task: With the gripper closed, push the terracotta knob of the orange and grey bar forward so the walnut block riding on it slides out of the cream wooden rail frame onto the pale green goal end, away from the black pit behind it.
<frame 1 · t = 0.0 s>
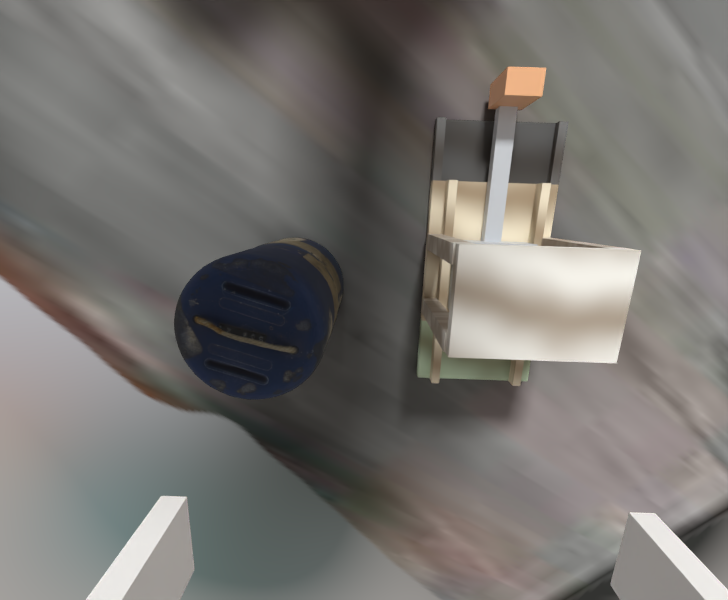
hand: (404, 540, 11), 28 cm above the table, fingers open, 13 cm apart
canister: (300, 281, 38), on the table
cream wooden rail frame: (481, 273, 37), on the table
orange and grey bar: (500, 204, 32), point 3 cm above the table, slide at 0.0 cm, touching block
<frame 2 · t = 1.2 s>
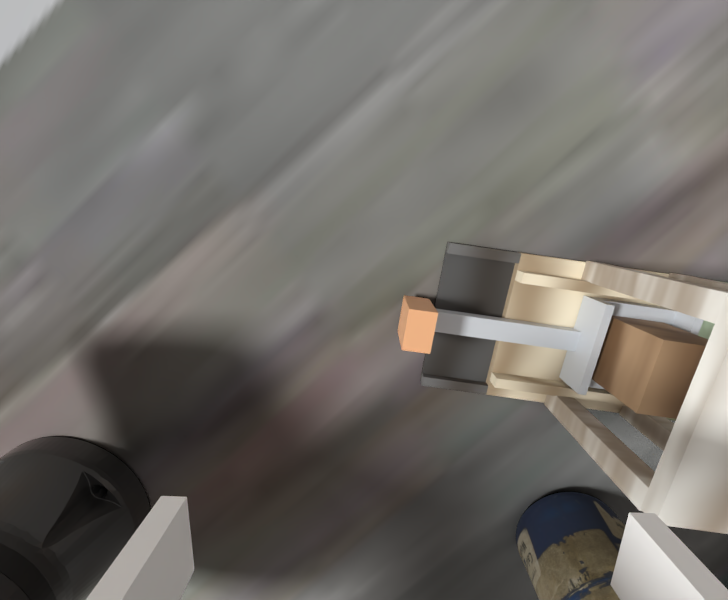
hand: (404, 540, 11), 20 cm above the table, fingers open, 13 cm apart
block: (624, 349, 27), point 2 cm above the table, touching orange and grey bar
canister: (558, 522, 34), on the table
cream wooden rail frame: (604, 338, 30), on the table
orange and grey bar: (540, 340, 26), point 3 cm above the table, slide at 0.0 cm, touching block
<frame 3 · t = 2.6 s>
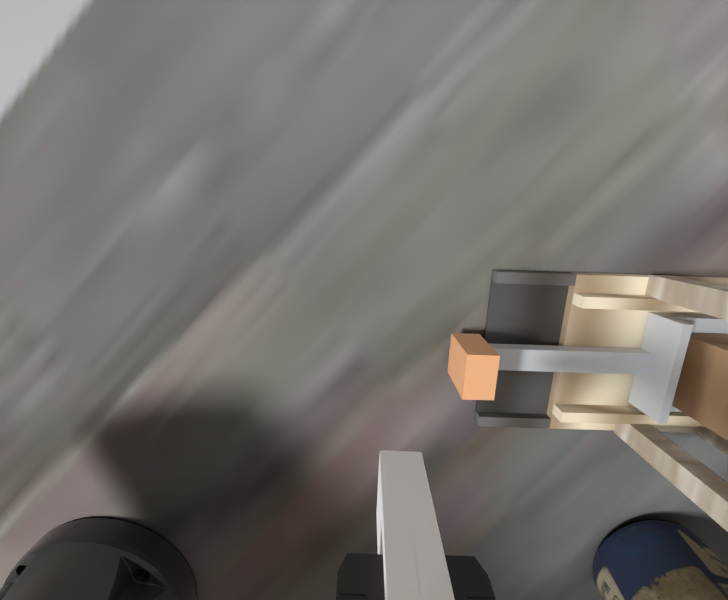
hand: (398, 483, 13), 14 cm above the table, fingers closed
block: (701, 367, 25), point 2 cm above the table, touching orange and grey bar
canister: (636, 552, 32), on the table
cream wooden rail frame: (673, 354, 27), on the table
orange and grey bar: (610, 368, 24), point 3 cm above the table, slide at 0.0 cm, touching block
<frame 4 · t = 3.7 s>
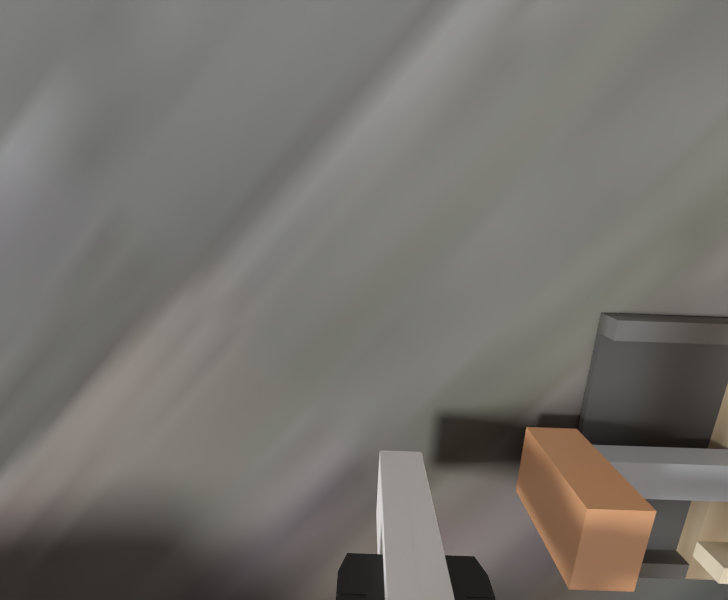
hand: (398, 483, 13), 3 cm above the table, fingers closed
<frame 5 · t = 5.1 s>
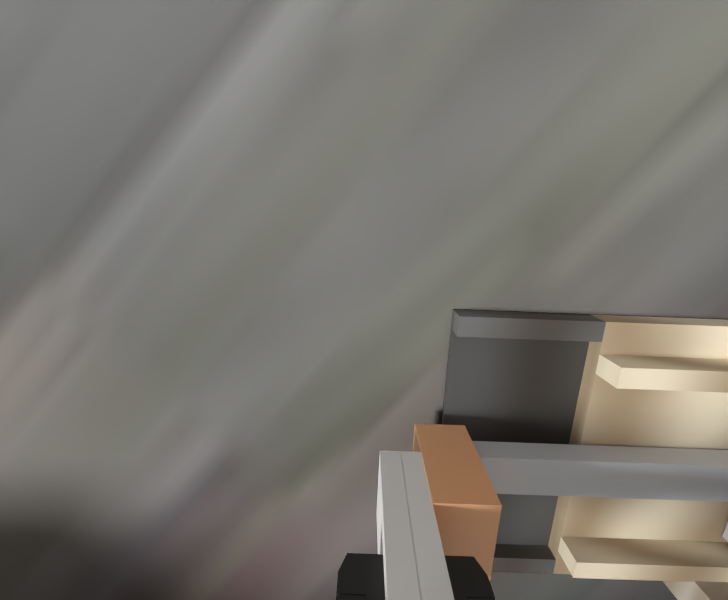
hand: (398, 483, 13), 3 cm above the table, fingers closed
orange and grey bar: (709, 503, 13), point 3 cm above the table, slide at 1.5 cm, touching block, gripper
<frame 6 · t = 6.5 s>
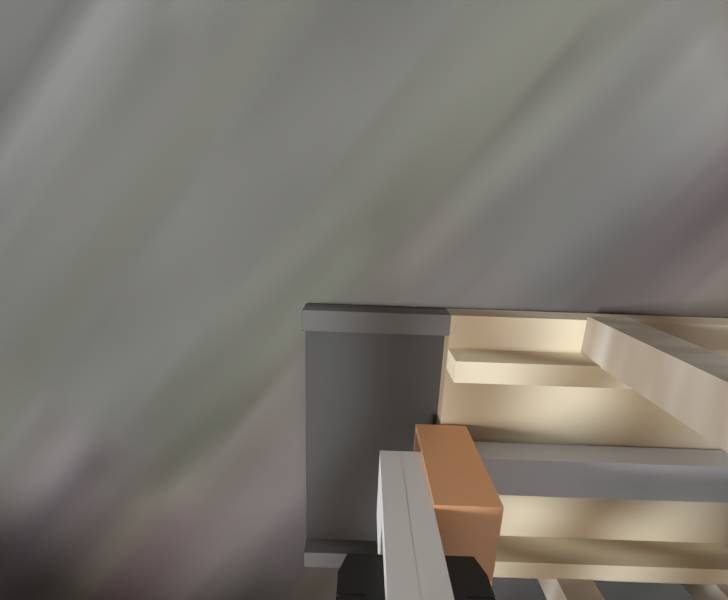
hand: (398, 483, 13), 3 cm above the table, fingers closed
cream wooden rail frame: (639, 447, 15), on the table
orange and grey bar: (715, 505, 12), point 3 cm above the table, slide at 7.3 cm, touching block, gripper
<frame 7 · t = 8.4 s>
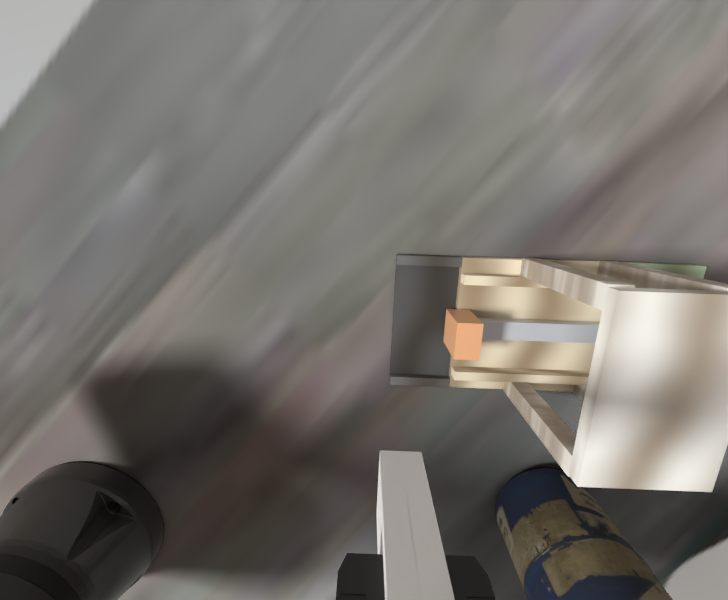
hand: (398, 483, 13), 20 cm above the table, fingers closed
canister: (535, 497, 37), on the table
cream wooden rail frame: (552, 325, 32), on the table
orange and grey bar: (575, 337, 29), point 3 cm above the table, slide at 7.3 cm, touching block
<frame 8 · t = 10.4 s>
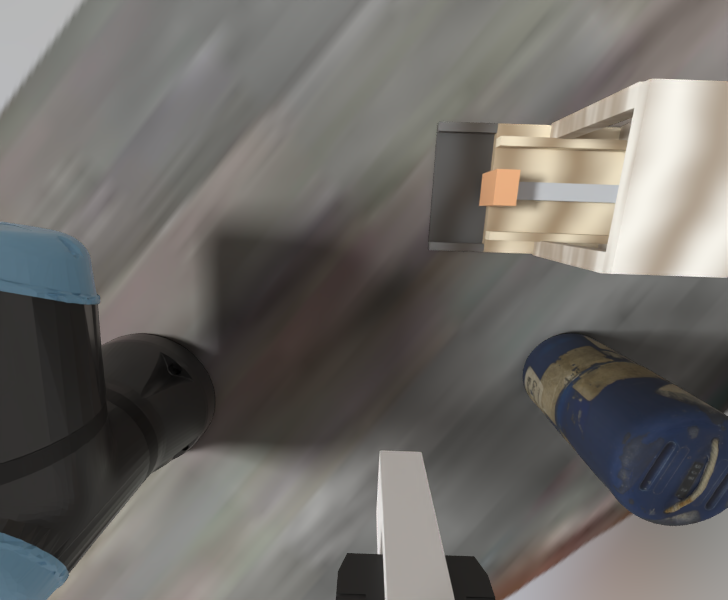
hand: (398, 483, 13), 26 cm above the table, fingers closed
canister: (558, 368, 40), on the table
cream wooden rail frame: (576, 194, 36), on the table
orange and grey bar: (600, 192, 33), point 3 cm above the table, slide at 7.3 cm, touching block
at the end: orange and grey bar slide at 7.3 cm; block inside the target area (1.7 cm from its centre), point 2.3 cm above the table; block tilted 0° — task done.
